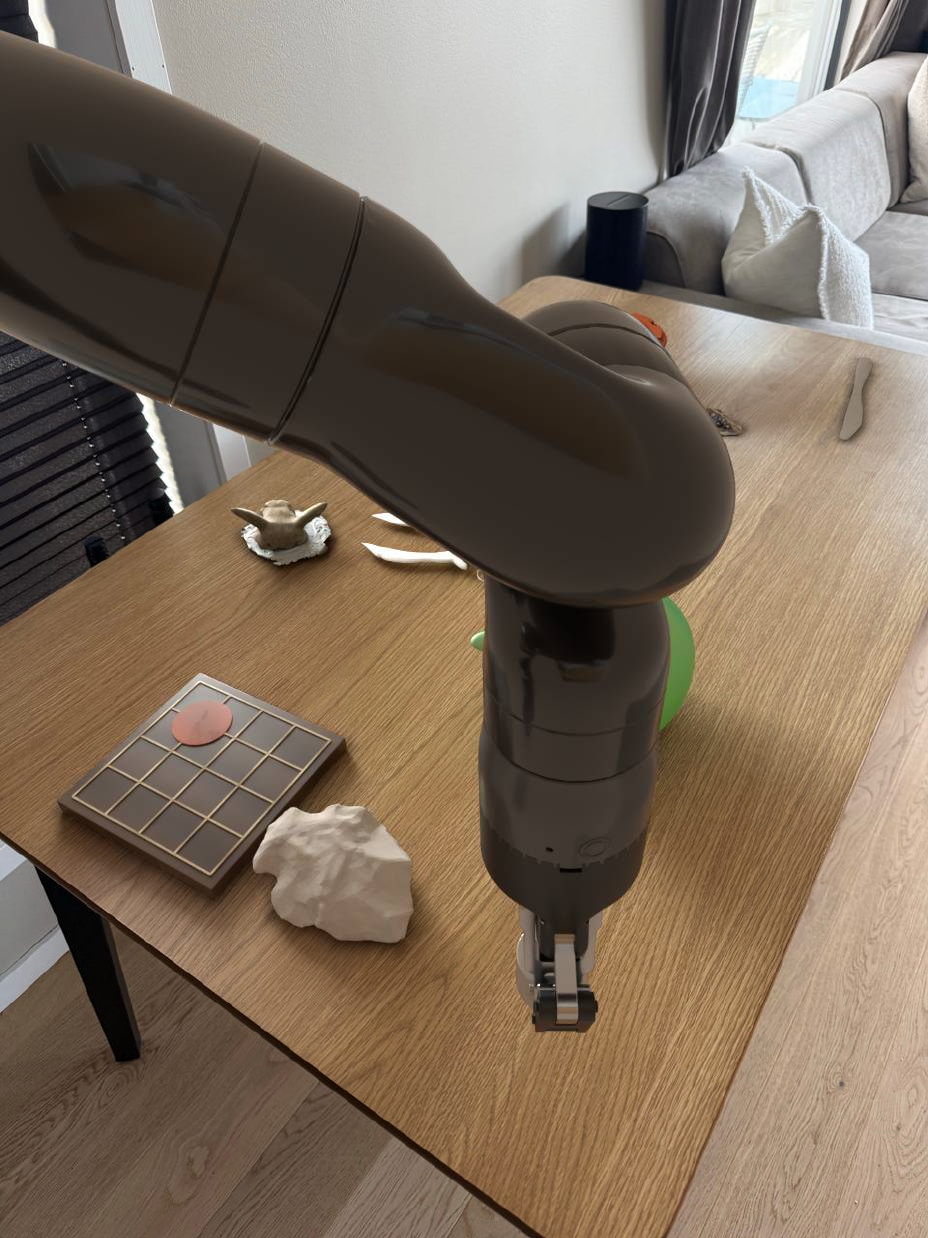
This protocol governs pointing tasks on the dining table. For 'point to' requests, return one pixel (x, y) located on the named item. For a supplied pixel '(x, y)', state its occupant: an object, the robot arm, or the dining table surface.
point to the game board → (203, 782)
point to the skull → (285, 531)
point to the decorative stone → (338, 873)
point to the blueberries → (724, 422)
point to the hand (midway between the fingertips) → (551, 978)
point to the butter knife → (856, 400)
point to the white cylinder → (528, 975)
